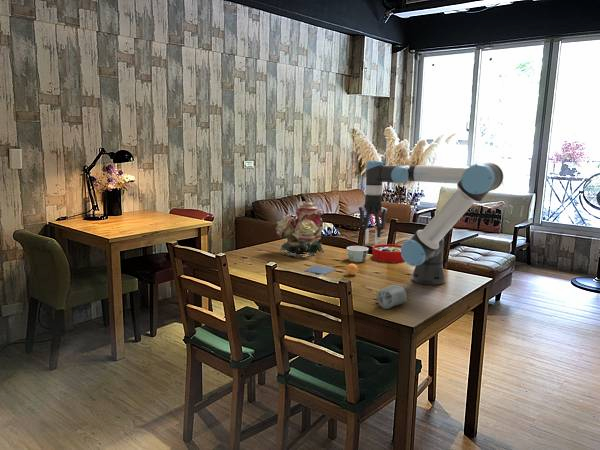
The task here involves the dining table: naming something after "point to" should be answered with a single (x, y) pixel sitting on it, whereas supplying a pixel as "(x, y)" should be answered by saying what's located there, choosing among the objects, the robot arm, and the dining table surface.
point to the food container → (357, 253)
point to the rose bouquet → (302, 230)
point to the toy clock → (387, 253)
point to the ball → (352, 269)
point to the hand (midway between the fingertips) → (371, 243)
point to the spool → (391, 296)
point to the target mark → (320, 270)
